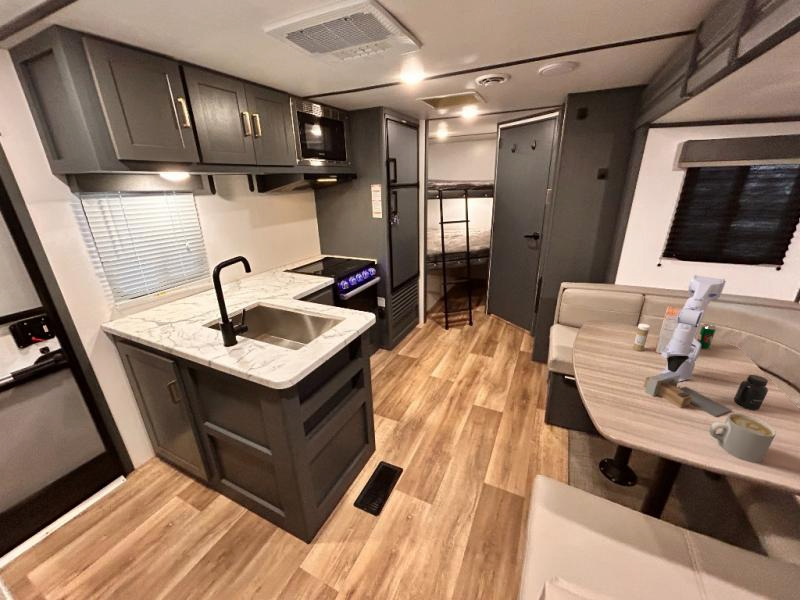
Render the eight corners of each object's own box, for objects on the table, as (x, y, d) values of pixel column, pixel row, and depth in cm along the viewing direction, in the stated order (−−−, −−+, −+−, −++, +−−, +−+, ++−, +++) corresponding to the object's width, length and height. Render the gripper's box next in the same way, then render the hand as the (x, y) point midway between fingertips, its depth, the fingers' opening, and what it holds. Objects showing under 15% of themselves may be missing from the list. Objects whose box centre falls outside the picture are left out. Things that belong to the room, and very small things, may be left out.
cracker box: (656, 342, 164) (667, 305, 157) (671, 345, 161) (683, 308, 153) (653, 352, 155) (665, 313, 147) (669, 356, 151) (682, 316, 144)
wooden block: (651, 385, 130) (654, 375, 128) (688, 406, 117) (692, 395, 116) (643, 386, 129) (646, 377, 127) (679, 408, 116) (683, 397, 115)
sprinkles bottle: (644, 349, 157) (651, 325, 152) (641, 352, 155) (648, 327, 150) (634, 346, 161) (641, 322, 156) (630, 348, 158) (637, 324, 154)
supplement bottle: (755, 413, 113) (768, 385, 109) (729, 402, 119) (741, 375, 114) (762, 407, 116) (775, 380, 112) (737, 397, 122) (748, 370, 117)
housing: (667, 385, 129) (672, 371, 127) (675, 389, 126) (680, 375, 124) (645, 391, 125) (649, 377, 123) (652, 396, 123) (657, 381, 120)
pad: (685, 387, 127) (685, 386, 127) (731, 411, 114) (732, 410, 114) (669, 392, 125) (670, 391, 125) (715, 416, 111) (715, 415, 111)
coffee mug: (756, 445, 99) (768, 420, 96) (768, 467, 91) (782, 441, 88) (700, 429, 106) (710, 405, 103) (707, 448, 98) (717, 423, 95)
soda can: (696, 343, 162) (703, 322, 158) (709, 346, 159) (717, 325, 155) (694, 346, 159) (702, 325, 155) (708, 350, 156) (716, 328, 152)
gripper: (683, 332, 122) (673, 362, 126) (657, 337, 118) (647, 368, 123) (705, 340, 115) (693, 371, 120) (677, 346, 112) (666, 378, 116)
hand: (671, 370), depth 121 cm, fingers closed
